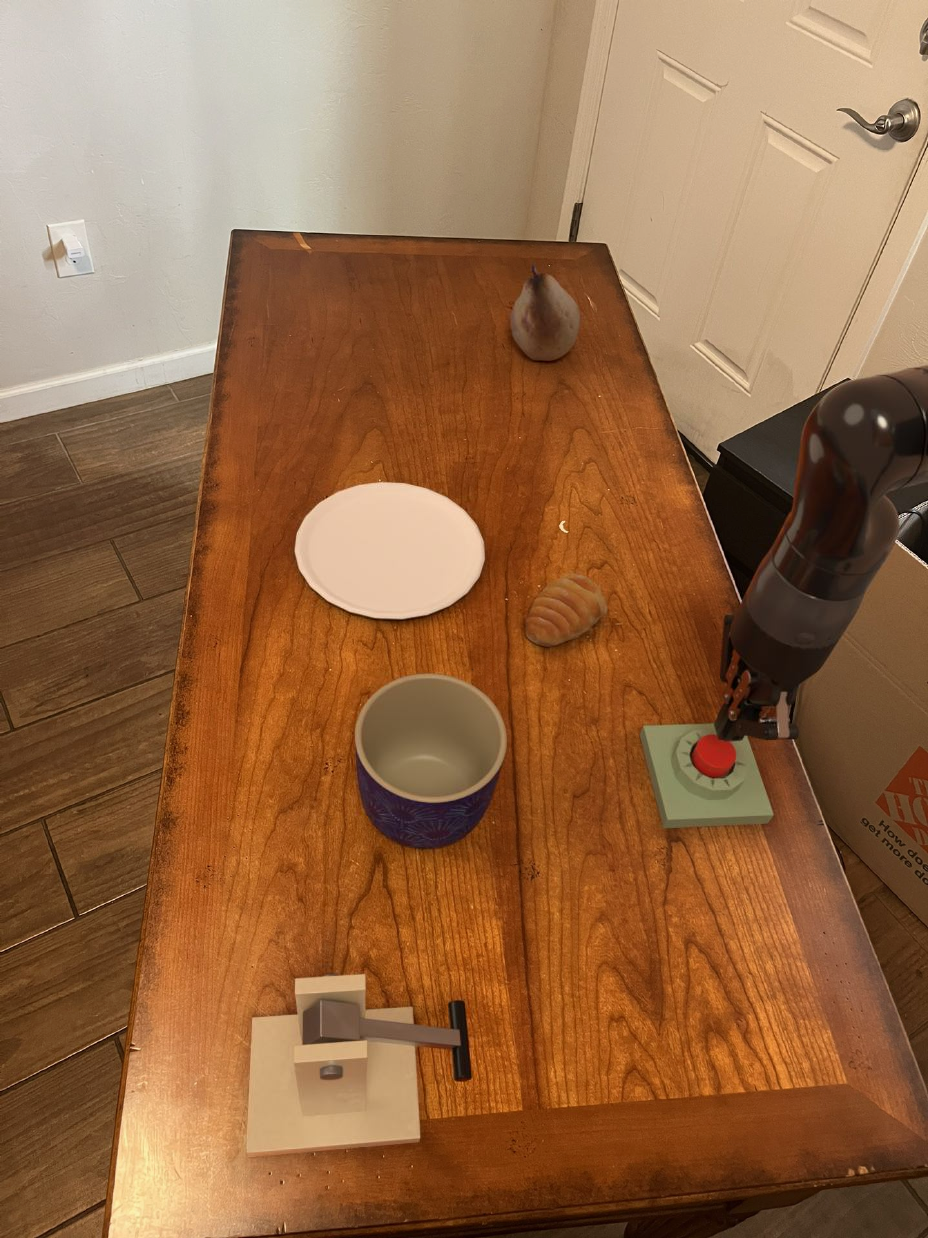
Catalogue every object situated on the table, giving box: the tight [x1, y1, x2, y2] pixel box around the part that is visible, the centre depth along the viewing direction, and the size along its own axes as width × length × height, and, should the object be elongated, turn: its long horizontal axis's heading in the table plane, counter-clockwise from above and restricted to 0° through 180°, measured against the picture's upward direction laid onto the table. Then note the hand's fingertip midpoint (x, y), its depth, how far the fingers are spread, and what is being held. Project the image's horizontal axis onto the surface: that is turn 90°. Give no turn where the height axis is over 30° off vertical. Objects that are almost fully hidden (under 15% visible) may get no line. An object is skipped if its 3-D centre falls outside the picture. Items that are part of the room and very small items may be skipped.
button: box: [692, 734, 736, 778], centre depth 86 cm, size 4×4×2 cm
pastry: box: [525, 572, 608, 648], centre depth 98 cm, size 9×7×4 cm
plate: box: [294, 481, 486, 621], centre depth 103 cm, size 21×21×1 cm
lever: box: [302, 999, 473, 1083], centre depth 61 cm, size 12×5×2 cm
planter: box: [354, 673, 508, 850], centre depth 80 cm, size 12×12×11 cm
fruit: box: [510, 265, 581, 362], centre depth 127 cm, size 10×9×12 cm
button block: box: [639, 722, 775, 829], centre depth 87 cm, size 10×10×4 cm
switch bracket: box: [245, 973, 421, 1158], centre depth 63 cm, size 12×9×15 cm
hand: (726, 732), depth 83 cm, fingers closed
